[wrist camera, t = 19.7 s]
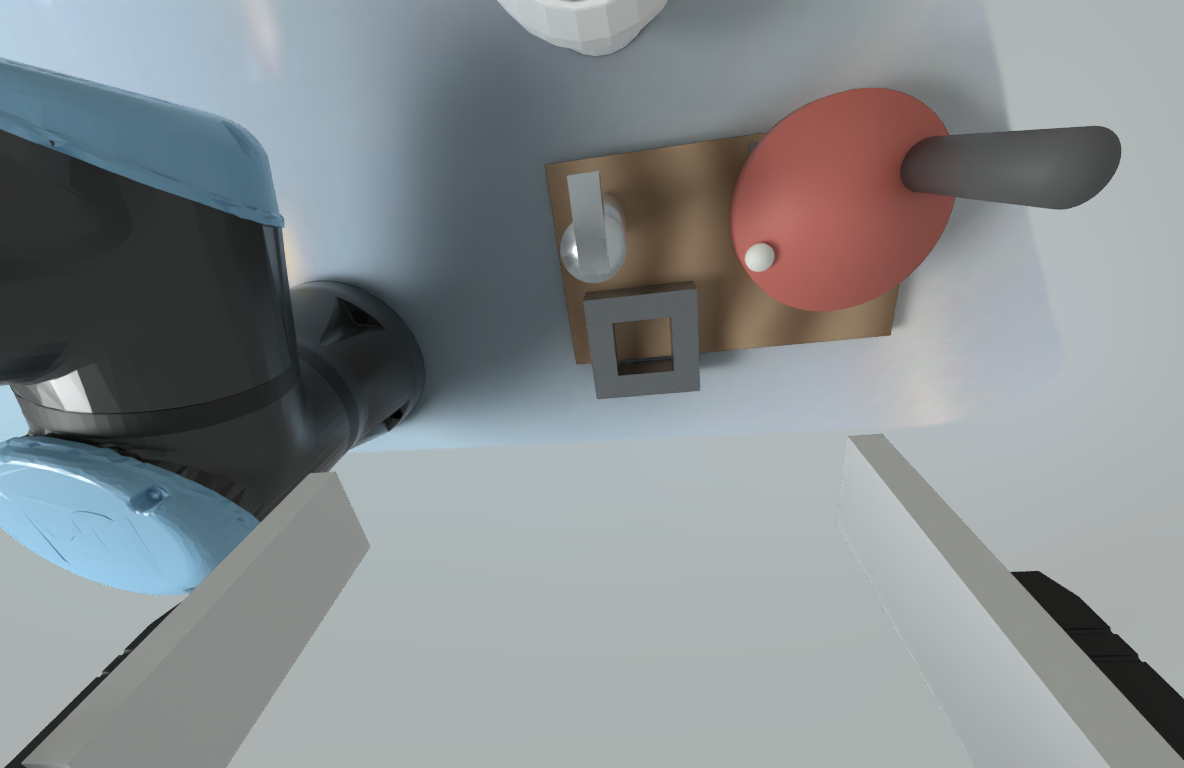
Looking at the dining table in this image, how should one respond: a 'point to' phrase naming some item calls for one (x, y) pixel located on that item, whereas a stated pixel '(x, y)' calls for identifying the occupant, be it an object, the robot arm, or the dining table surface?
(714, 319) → the board
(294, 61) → the dining table surface
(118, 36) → the dining table surface
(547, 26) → the cup
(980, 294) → the dining table surface
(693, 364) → the eye
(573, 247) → the hook peg
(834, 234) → the handwheel
